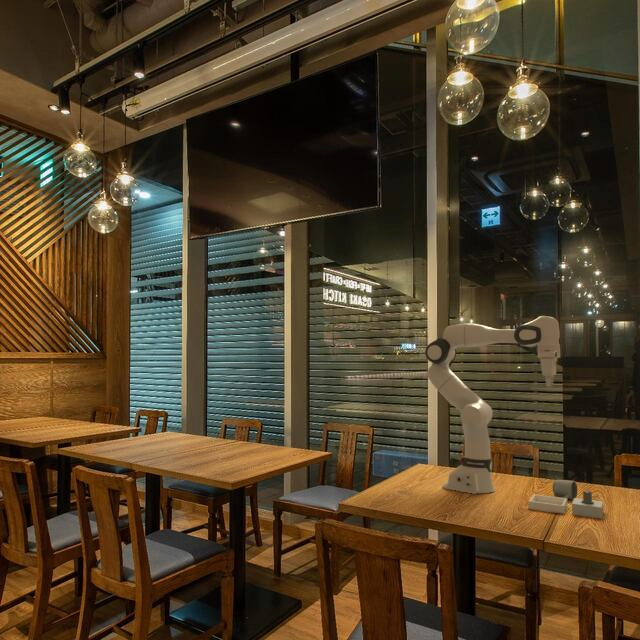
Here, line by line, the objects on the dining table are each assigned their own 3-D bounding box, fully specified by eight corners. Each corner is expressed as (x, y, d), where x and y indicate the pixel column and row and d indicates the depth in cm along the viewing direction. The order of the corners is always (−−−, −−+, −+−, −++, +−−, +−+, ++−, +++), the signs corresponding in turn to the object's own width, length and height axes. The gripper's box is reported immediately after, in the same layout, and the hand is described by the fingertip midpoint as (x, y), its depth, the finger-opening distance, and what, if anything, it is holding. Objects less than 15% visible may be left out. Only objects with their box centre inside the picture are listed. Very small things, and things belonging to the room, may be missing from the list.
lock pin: (583, 513, 198) (582, 492, 198) (583, 511, 200) (583, 490, 201) (592, 514, 196) (591, 493, 197) (592, 512, 199) (591, 491, 199)
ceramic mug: (558, 494, 226) (557, 476, 227) (578, 498, 221) (577, 479, 221) (548, 499, 219) (548, 480, 219) (569, 503, 213) (568, 484, 214)
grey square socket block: (572, 514, 197) (571, 503, 197) (574, 508, 205) (574, 497, 206) (602, 518, 192) (601, 507, 192) (603, 512, 200) (603, 501, 200)
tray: (528, 508, 203) (528, 501, 204) (533, 501, 214) (533, 494, 214) (564, 514, 197) (563, 506, 197) (567, 506, 208) (567, 498, 208)
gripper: (543, 354, 233) (544, 385, 232) (538, 353, 215) (538, 386, 214) (559, 354, 230) (560, 385, 228) (554, 353, 212) (555, 387, 211)
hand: (549, 386), depth 221 cm, fingers open, 8 cm apart
